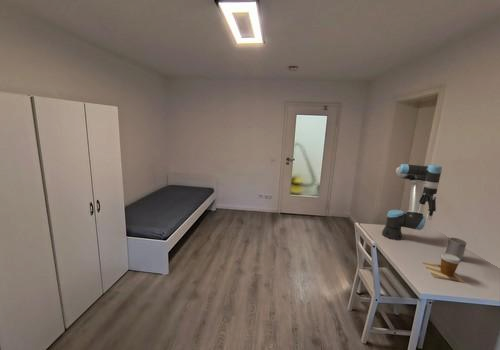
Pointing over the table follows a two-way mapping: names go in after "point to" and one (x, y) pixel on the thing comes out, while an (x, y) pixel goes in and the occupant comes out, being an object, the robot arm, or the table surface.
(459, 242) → the pillar candle
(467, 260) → the table surface
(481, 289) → the table surface
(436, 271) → the subfloor panel
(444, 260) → the disposable coffee cup
